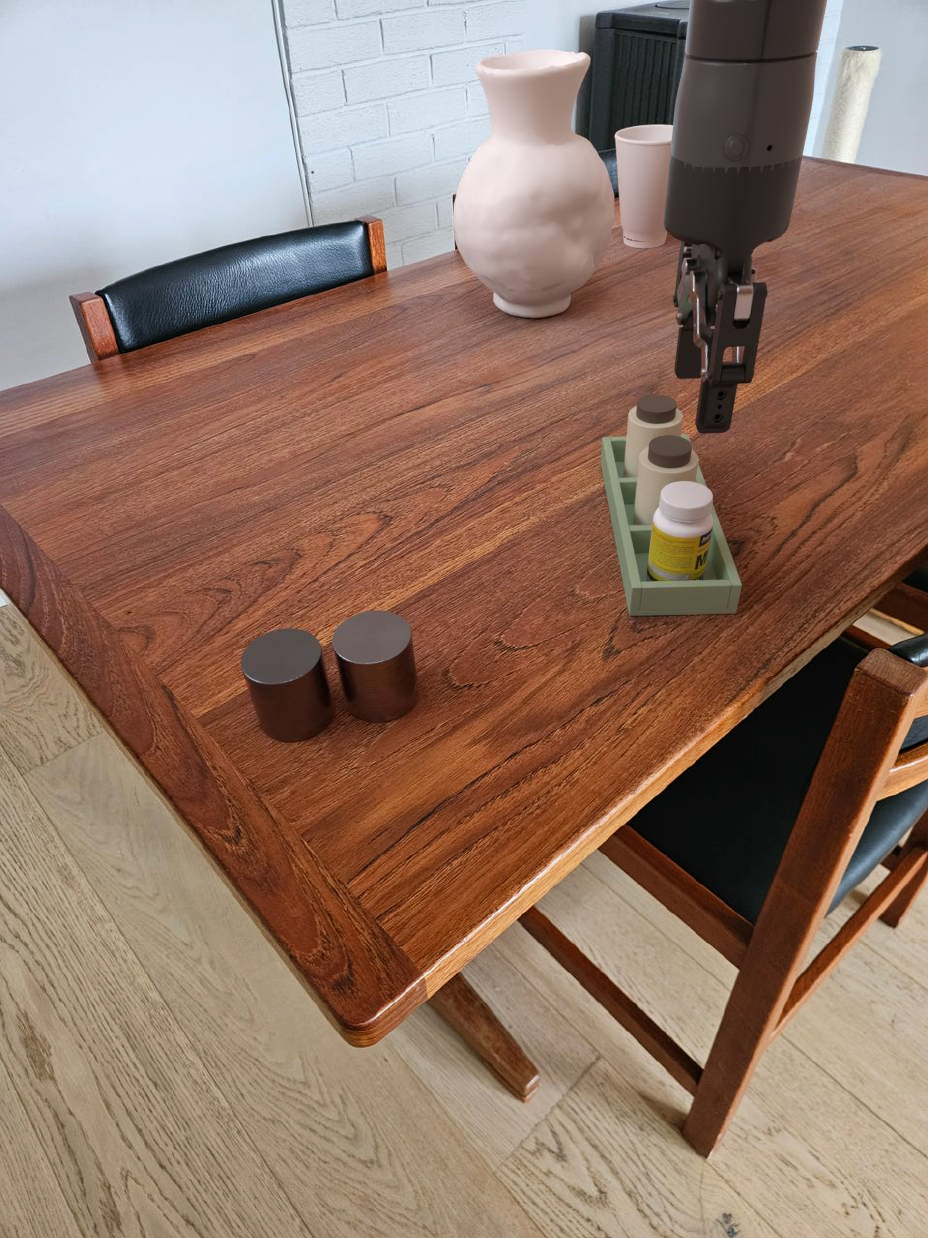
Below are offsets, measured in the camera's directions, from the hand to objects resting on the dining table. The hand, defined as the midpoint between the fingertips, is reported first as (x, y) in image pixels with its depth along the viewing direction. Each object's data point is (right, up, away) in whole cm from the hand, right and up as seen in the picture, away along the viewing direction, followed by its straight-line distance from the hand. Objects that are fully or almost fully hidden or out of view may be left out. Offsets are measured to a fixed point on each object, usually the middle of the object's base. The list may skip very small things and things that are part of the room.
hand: (699, 402), depth 59 cm
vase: (-7, +30, +60) cm, 67 cm away
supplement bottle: (+1, -12, +11) cm, 16 cm away
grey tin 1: (-29, -22, +2) cm, 37 cm away
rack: (+1, -7, +17) cm, 19 cm away
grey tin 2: (-23, -21, +3) cm, 31 cm away
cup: (+13, +47, +79) cm, 93 cm away
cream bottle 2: (+1, -7, +17) cm, 18 cm away
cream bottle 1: (+1, -2, +23) cm, 23 cm away
